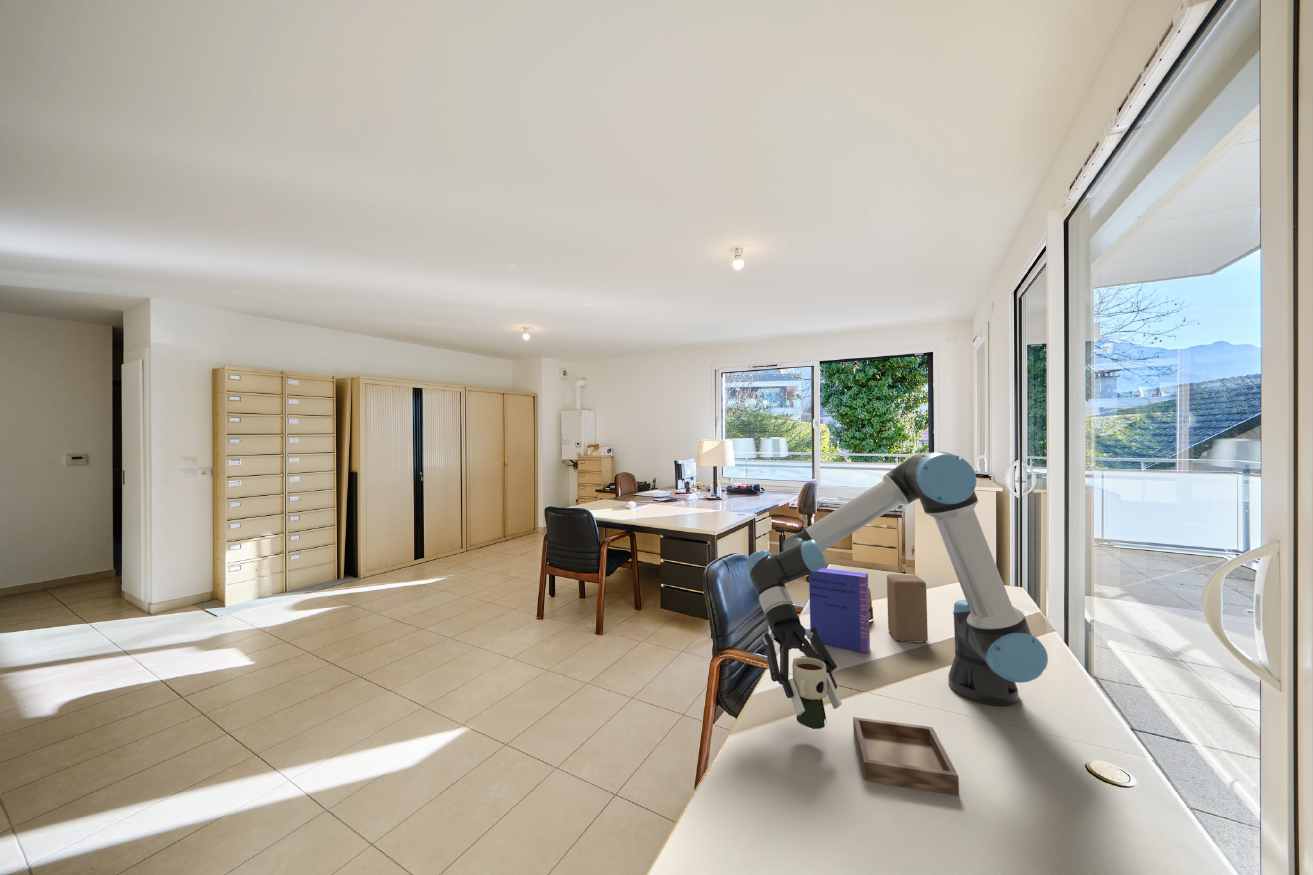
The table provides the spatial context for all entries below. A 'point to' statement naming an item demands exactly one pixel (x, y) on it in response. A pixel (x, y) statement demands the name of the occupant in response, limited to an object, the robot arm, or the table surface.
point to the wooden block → (907, 607)
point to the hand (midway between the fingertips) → (819, 709)
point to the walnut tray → (904, 756)
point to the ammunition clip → (870, 606)
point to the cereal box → (840, 608)
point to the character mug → (811, 690)
